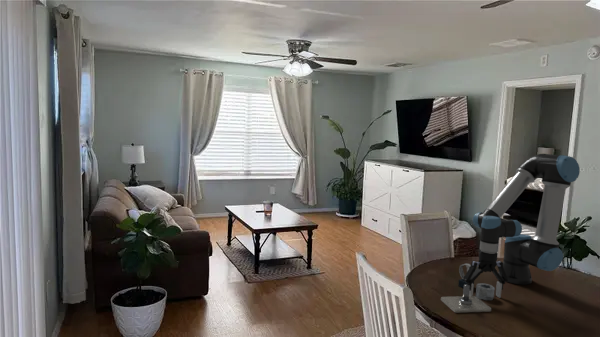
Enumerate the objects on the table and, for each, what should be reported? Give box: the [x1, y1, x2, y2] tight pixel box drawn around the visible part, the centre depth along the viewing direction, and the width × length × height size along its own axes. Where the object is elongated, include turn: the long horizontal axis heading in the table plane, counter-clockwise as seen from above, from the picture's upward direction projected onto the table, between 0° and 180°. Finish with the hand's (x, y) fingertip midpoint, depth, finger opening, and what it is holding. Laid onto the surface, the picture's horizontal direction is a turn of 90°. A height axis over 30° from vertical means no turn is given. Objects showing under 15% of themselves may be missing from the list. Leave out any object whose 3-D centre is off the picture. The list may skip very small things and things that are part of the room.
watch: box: [457, 263, 476, 289], centre depth 197 cm, size 6×8×11 cm
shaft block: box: [440, 284, 492, 314], centre depth 176 cm, size 16×12×9 cm
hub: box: [475, 282, 496, 301], centre depth 186 cm, size 7×7×5 cm
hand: (484, 296), depth 186 cm, fingers open, 13 cm apart
